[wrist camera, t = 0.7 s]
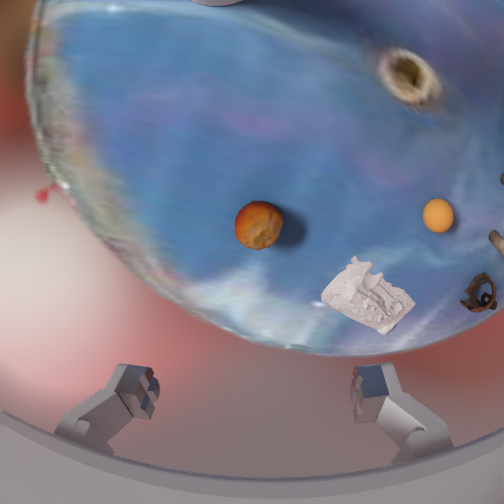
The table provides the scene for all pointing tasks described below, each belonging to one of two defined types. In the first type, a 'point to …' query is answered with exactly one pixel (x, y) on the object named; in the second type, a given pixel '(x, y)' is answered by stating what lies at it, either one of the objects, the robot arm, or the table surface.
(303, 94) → the table surface
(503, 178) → the post
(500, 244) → the post
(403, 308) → the terrain model
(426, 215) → the ball
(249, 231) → the fruit
